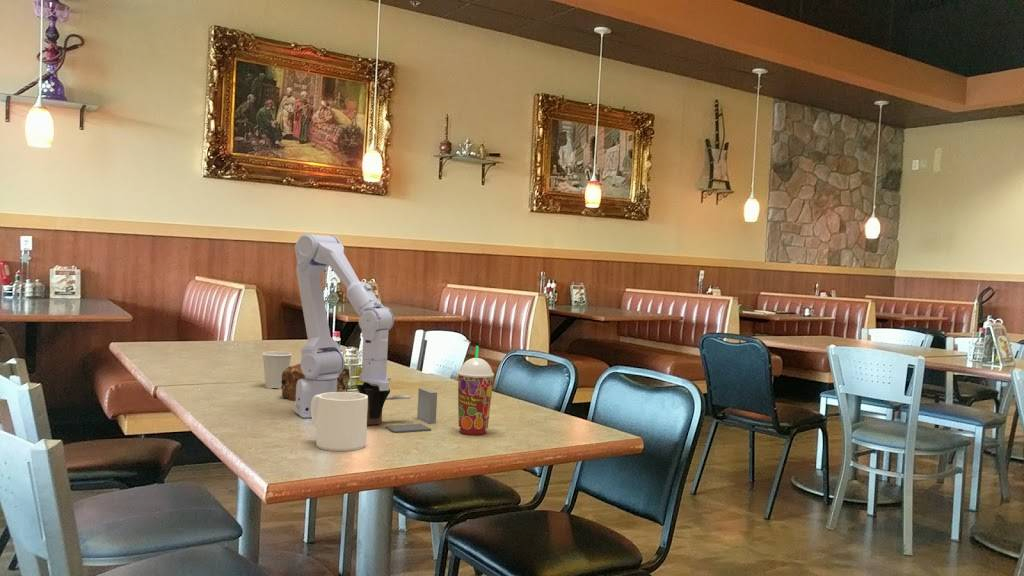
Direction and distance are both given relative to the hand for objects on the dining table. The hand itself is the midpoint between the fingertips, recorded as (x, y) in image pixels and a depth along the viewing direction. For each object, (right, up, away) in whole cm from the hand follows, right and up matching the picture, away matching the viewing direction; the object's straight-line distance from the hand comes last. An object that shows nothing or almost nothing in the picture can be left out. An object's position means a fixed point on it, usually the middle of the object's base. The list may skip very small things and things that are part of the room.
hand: (371, 416), depth 182 cm
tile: (+12, -2, +7) cm, 14 cm away
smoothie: (+24, -3, -3) cm, 24 cm away
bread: (-21, 0, +32) cm, 39 cm away
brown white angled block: (+3, -2, +2) cm, 4 cm away
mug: (-4, -3, -22) cm, 22 cm away
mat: (+9, -2, -3) cm, 10 cm away
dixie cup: (-36, +1, +43) cm, 56 cm away
